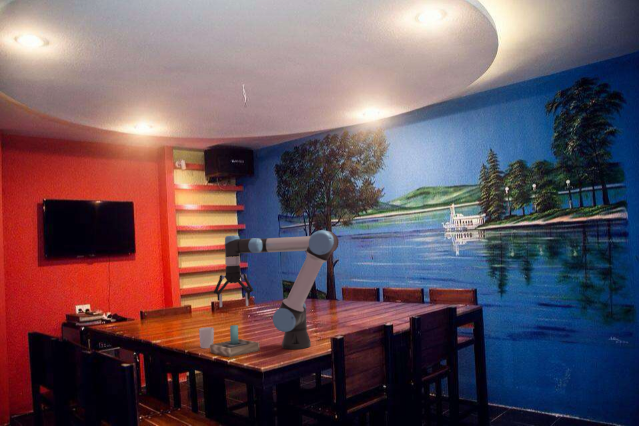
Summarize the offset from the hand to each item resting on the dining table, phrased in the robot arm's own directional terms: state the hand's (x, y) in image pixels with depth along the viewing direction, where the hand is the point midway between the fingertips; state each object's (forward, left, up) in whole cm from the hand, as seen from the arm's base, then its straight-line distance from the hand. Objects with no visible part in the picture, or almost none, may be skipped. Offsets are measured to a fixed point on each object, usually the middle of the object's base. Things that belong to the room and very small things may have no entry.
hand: (234, 306), depth 242 cm
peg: (0, 0, -22) cm, 22 cm away
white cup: (+23, +3, -23) cm, 33 cm away
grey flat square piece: (0, 0, -23) cm, 23 cm away
